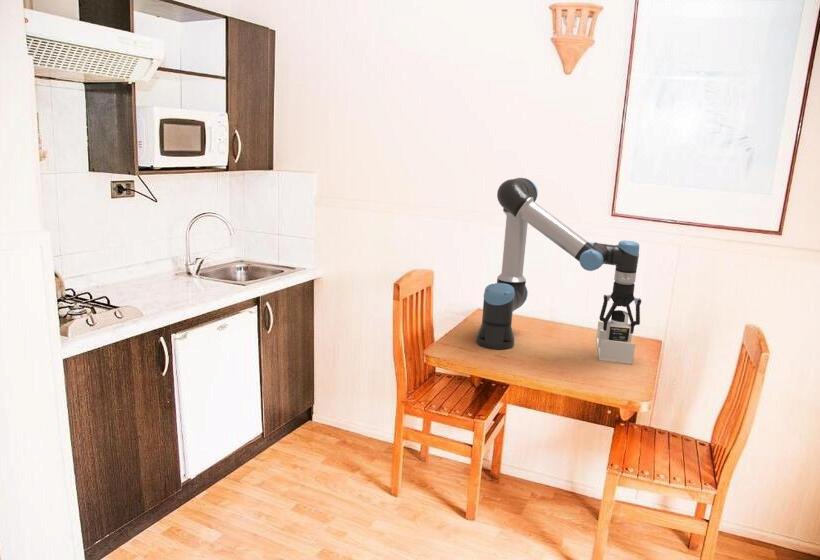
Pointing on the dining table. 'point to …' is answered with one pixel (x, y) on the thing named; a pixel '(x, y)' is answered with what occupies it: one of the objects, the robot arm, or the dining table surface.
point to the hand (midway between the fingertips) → (616, 339)
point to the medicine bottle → (619, 326)
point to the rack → (613, 348)
